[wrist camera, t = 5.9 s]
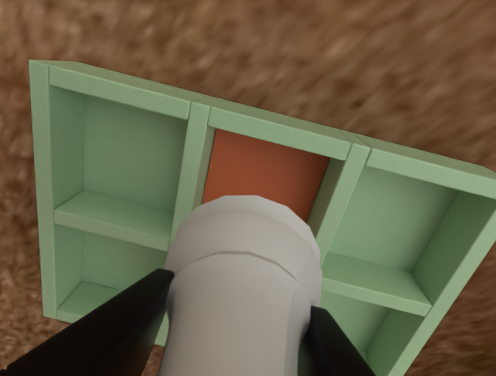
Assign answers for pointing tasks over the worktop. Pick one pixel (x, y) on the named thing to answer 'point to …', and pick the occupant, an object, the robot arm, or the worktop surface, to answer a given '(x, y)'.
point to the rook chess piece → (240, 289)
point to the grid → (248, 183)
